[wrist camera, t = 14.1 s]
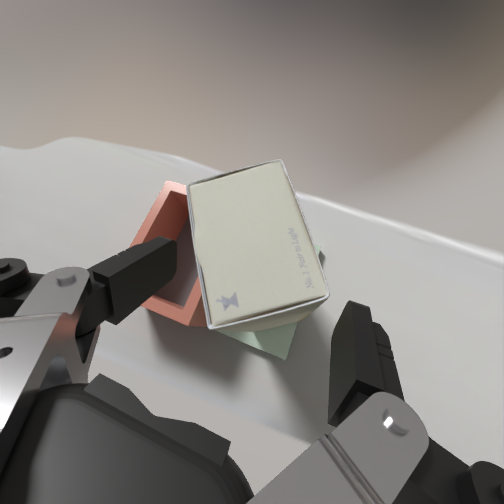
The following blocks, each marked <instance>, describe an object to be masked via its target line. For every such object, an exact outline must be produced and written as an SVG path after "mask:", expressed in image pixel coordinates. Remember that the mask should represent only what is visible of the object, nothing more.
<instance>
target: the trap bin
mask: <svg viewBox="0 0 504 504" xmlns="http://www.w3.org/2000/svg"><path fill="white" fill-rule="evenodd" d="M158 236H163V237H166V238H169V239H172V240H175V241H176V243H177V270H176V273H175V275H174V277H173V279H172V280H171V281H169V282H168V283H167V284H166V285H165V286H163V287H162V288H161V289H160V290H159V291H157V292H156V293H155V294H154V295H152V296H151V297H150V298H149V299H148V300H146V301H145V302H144V303H143V304H142V305H140V306H142V307H145V308H147V309H149V310H152V311H154V312H156V313H159V314H161V315H163V316H166V317H168V318H170V319H173V320H175V321H177V322H180V323H182V324H184V325H187V326H198V327H208V326H207V321H206V315H205V309H204V304H203V298H202V292H201V286H200V281H199V275H198V269H197V263H196V257H195V252H194V246H193V239H192V231H191V224H190V216H189V209H188V201H187V192H186V185H182V184H179V183H175V182H171V181H168V180H167V181H166V183H165V184H164V186H163V188H162V190H161V192H160V193H159V195H158V197H157V199H156V201H155V202H154V204H153V206H152V208H151V210H150V211H149V213H148V215H147V217H146V219H145V220H144V222H143V224H142V226H141V228H140V229H139V231H138V233H137V235H136V237H135V238H134V240H133V242H132V244H131V246H130V247H132V246H134V245H137V244H141V243H145V242H148V241H150V240H152V239H154V238H156V237H158ZM130 247H129V248H130Z"/></svg>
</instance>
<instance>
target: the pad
mask: <svg viewBox="0 0 504 504" xmlns="http://www.w3.org/2000/svg"><path fill="white" fill-rule="evenodd" d="M314 245H315V244H314ZM315 248H316V251H317V254H318V255H319V252H320V249H321V246H318V245H315ZM297 323H298V322H294V323H291V324H287V325H283V326H279V327H275V328H271V329H266V330H262V331H257V332H241V331H222V330H217V332H220V333H222V334H224V335H227V336H229V337H231V338H234V339H236V340H239V341H241V342H243V343H246V344H248V345H250V346H253V347H255V348H257V349H260V350H262V351H265V352H267V353H269V354H272V355H274V356H276V357H279V358H281V359H283V360H286V358H287V355H288V352H289V349H290V346H291V342H292V339H293V336H294V333H295V329H296V326H297Z"/></svg>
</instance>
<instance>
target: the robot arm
mask: <svg viewBox="0 0 504 504" xmlns="http://www.w3.org/2000/svg"><path fill="white" fill-rule="evenodd" d="M176 270H177V243H176V241H175V240H172V239H169V238H166V237H163V236H158V237H156V238H154V239H152V240H150V241H148V242H145V243H141V244H137V245H134V246H132V247H130V248H128V249H126V251H122V252H120V253H118V255H114V256H112V257H110V258H108V259H106V260H104V261H102V262H100V263H98V264H96V265H94V266H92V267H91V268H89V269H87V270H86V269H84V268H80V267H66V268H60V269H57V270H54V271H51V272H49V273H47V274H46V275H44V274H36V273H29V270H28V268H27V265H26V263H25V261H23V260H21V259H16V258H4V259H0V504H504V469H502V468H501V467H499V466H497V465H495V464H492V463H490V462H486V461H479V462H476V463H474V464H473V465H471V466H470V467H469V466H468V465H467V464H465V463H464V462H462V461H461V460H460V459H458V458H457V457H455V456H454V455H453V454H451V453H450V452H449V451H447V450H446V449H444V448H443V447H442V446H440V445H439V444H437V443H436V442H435V441H434V440H432V439H431V438H430V437H429V436H428V433H427V430H426V428H425V426H424V424H423V422H422V420H421V419H420V417H419V416H418V415H417V413H416V412H415V411H414V410H413V409H412V408H411V407H410V406H409V405H408V404H407V403H406V402H405V400H404V396H403V392H402V388H401V384H400V380H399V376H398V372H397V368H396V364H395V361H394V356H393V352H392V350H391V344H390V340H389V336H388V335H387V333H386V332H385V331H384V329H383V328H382V326H381V325H380V324H378V323H375V322H372V317H371V311H370V308H369V307H368V306H365V305H362V304H359V303H356V302H353V301H350V300H349V301H348V302H347V304H346V306H345V308H344V310H343V312H342V314H341V316H340V318H339V320H338V322H337V324H336V326H335V329H334V331H333V335H332V340H331V359H330V383H329V406H328V424H330V425H332V426H335V427H337V428H335V429H334V430H333V431H332V432H331V433H330V434H329V435H326V434H325V435H323V436H322V437H320V438H319V439H318V440H317V441H316V442H314V443H313V444H312V445H311V446H310V447H309V448H308V449H307V450H305V451H304V452H303V453H302V454H301V455H300V456H299V457H298V458H297V459H296V460H294V461H293V462H292V463H291V464H290V465H289V466H288V467H286V469H284V470H283V471H282V472H281V473H280V474H279V475H278V476H276V477H275V478H274V479H273V480H272V481H271V482H270V483H269V484H267V485H266V486H265V487H264V488H263V489H262V490H261V491H260V492H259V493H257V494H256V495H255V496H254V494H253V492H252V490H251V488H250V485H249V483H248V481H247V479H246V478H245V476H244V474H243V472H242V471H241V470H240V468H239V467H238V465H237V464H236V463H235V461H234V460H233V459H232V458H231V457H230V456H229V455H228V450H229V447H230V443H231V442H230V441H228V440H227V439H225V438H223V437H221V436H219V435H217V434H215V433H213V432H211V431H209V430H207V429H206V428H204V427H202V426H199V425H198V424H196V423H192V422H186V421H180V420H175V419H169V418H163V417H157V416H155V415H153V414H152V413H150V411H149V410H148V409H147V408H146V407H145V406H144V405H143V404H142V403H141V401H139V399H138V398H137V397H136V396H135V395H134V394H133V393H132V392H131V391H130V389H128V388H127V387H125V386H123V385H121V384H119V383H117V382H115V381H113V380H111V379H110V378H108V377H106V376H104V375H102V374H99V375H98V376H96V377H95V378H94V379H93V380H92V381H91V382H90V383H88V371H89V367H90V364H91V361H92V357H93V354H94V350H95V347H96V343H97V340H98V337H99V333H100V329H101V328H100V324H101V323H102V322H103V321H105V320H106V321H108V322H110V323H112V324H115V325H117V324H118V323H120V322H121V321H122V320H123V319H124V318H126V317H127V316H128V315H129V314H131V313H132V312H133V311H134V310H135V309H137V308H138V307H139V306H140V305H142V304H143V303H144V302H145V301H146V300H148V299H149V298H150V297H151V296H152V295H154V294H155V293H156V292H157V291H159V290H160V289H161V288H162V287H163V286H165V285H166V284H167V283H168V282H169V281H171V280H172V279H173V277H174V275H175V273H176Z"/></svg>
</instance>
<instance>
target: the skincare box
mask: <svg viewBox="0 0 504 504" xmlns="http://www.w3.org/2000/svg"><path fill="white" fill-rule="evenodd" d="M186 192H187V201H188V209H189V216H190V224H191V231H192V239H193V246H194V252H195V257H196V263H197V269H198V275H199V281H200V286H201V292H202V298H203V304H204V309H205V315H206V321H207V326H208V329H209V330H222V331H241V332H257V331H262V330H266V329H271V328H275V327H279V326H283V325H287V324H291V323H294V322H298V321H301V320H302V319H304V318H305V317H306V316H308V315H309V314H310V313H311V312H313V311H314V310H315V309H316V308H317V307H319V306H320V305H321V304H322V303H323V302H324V301H326V300H327V299H328V297H329V296H330V294H329V289H328V286H327V283H326V279H325V276H324V273H323V270H322V266H321V263H320V260H319V257H318V254H317V251H316V248H315V245H314V243H313V240H312V237H311V234H310V231H309V228H308V225H307V223H306V220H305V217H304V215H303V212H302V209H301V207H300V204H299V201H298V199H297V196H296V193H295V190H294V188H293V186H292V183H291V181H290V178H289V175H288V172H287V170H286V168H285V166H284V163H283V161H282V160H280V159H276V160H273V161H269V162H265V163H261V164H257V165H253V166H249V167H245V168H241V169H237V170H234V171H230V172H226V173H222V174H219V175H215V176H211V177H208V178H204V179H200V180H197V181H193V182H190V183H188V184H187V186H186Z"/></svg>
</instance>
